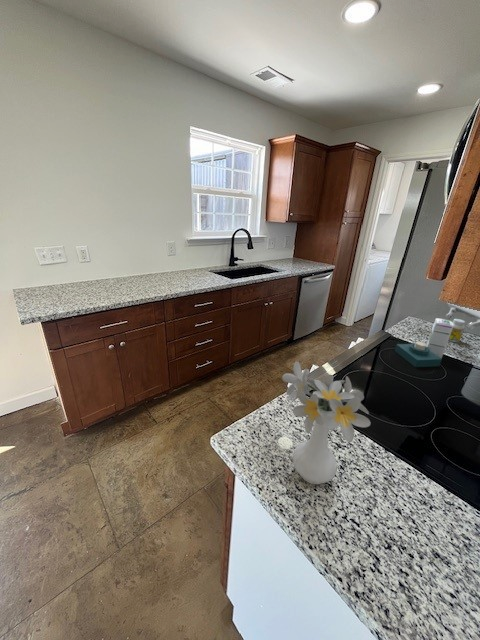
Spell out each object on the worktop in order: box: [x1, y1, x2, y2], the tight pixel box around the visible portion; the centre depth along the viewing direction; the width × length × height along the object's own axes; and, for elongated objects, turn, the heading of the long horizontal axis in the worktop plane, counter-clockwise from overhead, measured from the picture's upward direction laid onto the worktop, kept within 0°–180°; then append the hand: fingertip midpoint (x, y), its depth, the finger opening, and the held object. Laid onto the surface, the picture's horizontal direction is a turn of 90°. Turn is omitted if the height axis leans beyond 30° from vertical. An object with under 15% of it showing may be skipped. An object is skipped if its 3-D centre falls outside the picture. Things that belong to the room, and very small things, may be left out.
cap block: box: [394, 342, 443, 368], centre depth 104 cm, size 12×10×5 cm
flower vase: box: [281, 361, 371, 485], centre depth 54 cm, size 13×18×25 cm
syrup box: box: [426, 317, 453, 359], centre depth 106 cm, size 6×6×14 cm
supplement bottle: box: [448, 318, 466, 343], centre depth 119 cm, size 5×5×10 cm
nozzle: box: [414, 341, 427, 350], centre depth 103 cm, size 4×4×2 cm
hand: (457, 322), depth 104 cm, fingers open, 8 cm apart
